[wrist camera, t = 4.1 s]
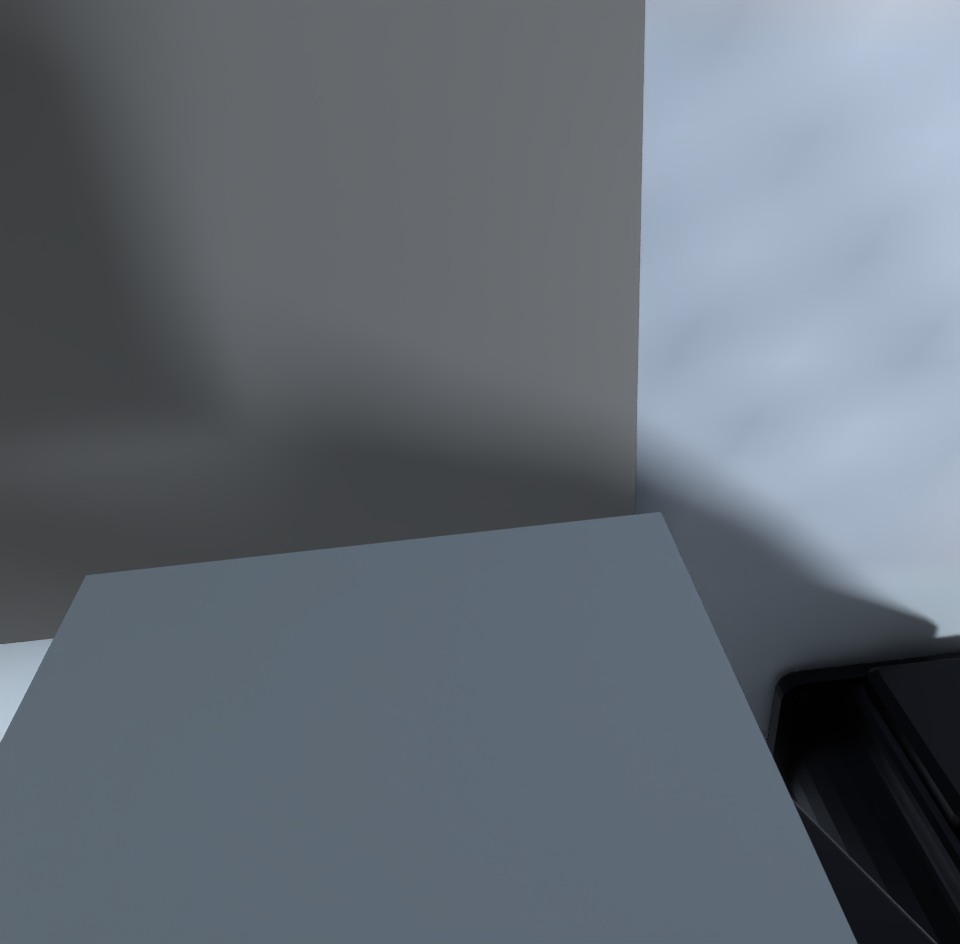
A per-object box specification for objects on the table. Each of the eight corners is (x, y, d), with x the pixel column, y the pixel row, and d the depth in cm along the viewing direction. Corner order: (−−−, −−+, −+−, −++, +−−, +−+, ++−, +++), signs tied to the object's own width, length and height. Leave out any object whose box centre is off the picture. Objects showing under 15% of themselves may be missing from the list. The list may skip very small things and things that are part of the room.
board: (622, 544, 18) (633, 574, 17) (-221, 637, 18) (-253, 672, 17) (639, -860, 9) (664, -949, 8) (-1178, -721, 8) (-1358, -797, 7)
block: (646, 856, 11) (775, 1337, 7) (226, 906, 11) (129, 1421, 7) (661, 511, 8) (890, 1014, 4) (85, 575, 8) (-209, 1152, 4)
